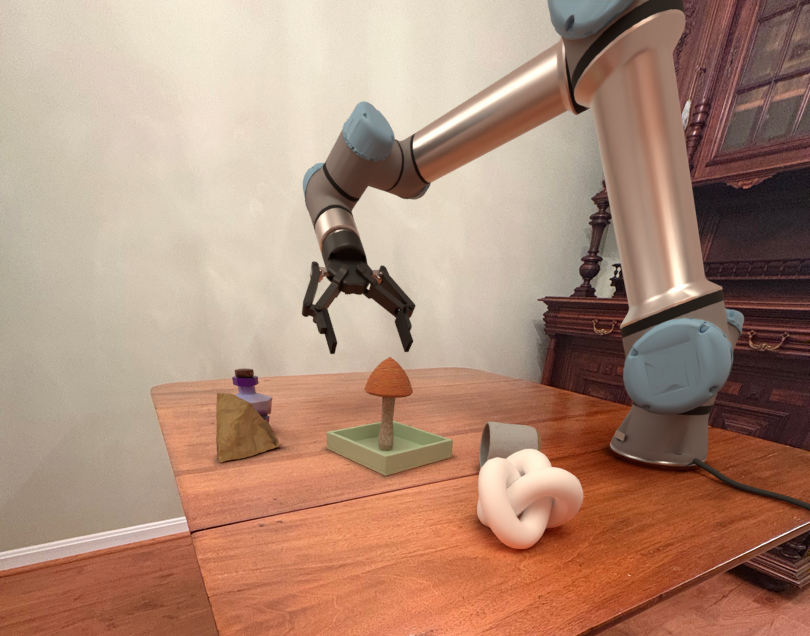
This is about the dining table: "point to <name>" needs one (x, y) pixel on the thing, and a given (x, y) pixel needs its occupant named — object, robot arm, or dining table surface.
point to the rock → (241, 429)
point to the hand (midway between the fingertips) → (372, 347)
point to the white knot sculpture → (525, 497)
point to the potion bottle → (252, 392)
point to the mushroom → (388, 395)
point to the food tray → (406, 452)
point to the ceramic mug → (506, 440)
